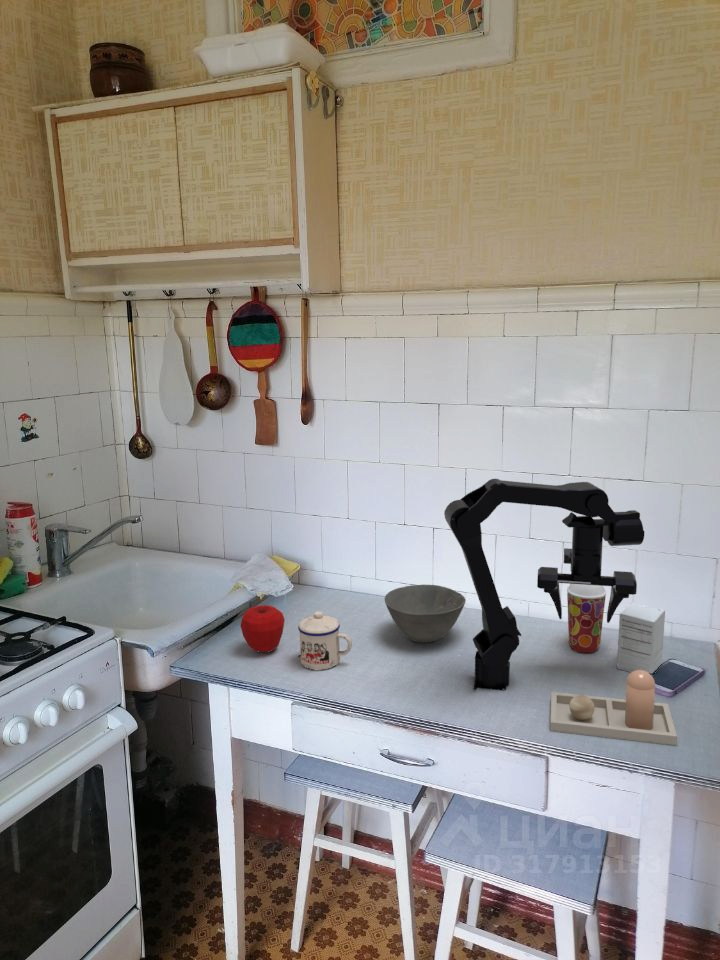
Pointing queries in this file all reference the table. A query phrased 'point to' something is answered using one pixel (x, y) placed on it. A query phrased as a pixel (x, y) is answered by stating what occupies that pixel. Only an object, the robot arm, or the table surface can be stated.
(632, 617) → the supplement box
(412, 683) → the table surface
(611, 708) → the pulp tray
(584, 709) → the beige lumpy ball
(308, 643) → the teacup with lid
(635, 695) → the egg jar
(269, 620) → the apple
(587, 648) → the smoothie
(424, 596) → the bowl
